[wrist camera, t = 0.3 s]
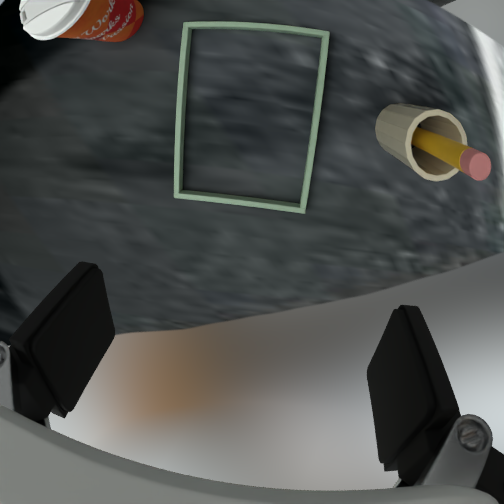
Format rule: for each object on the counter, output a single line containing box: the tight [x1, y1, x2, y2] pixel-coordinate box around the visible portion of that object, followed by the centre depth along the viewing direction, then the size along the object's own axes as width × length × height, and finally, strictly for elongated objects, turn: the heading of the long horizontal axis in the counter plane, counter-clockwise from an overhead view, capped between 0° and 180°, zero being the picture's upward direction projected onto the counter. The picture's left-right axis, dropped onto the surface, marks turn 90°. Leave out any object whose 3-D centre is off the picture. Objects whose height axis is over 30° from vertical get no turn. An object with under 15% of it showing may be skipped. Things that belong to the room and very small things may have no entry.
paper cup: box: [19, 0, 144, 42], centre depth 20 cm, size 8×8×14 cm
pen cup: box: [375, 103, 467, 181], centre depth 25 cm, size 6×6×10 cm
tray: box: [174, 21, 330, 214], centre depth 30 cm, size 19×14×2 cm
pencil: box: [411, 127, 491, 181], centre depth 22 cm, size 2×2×16 cm
